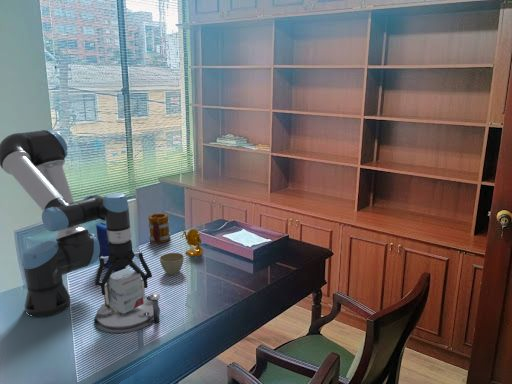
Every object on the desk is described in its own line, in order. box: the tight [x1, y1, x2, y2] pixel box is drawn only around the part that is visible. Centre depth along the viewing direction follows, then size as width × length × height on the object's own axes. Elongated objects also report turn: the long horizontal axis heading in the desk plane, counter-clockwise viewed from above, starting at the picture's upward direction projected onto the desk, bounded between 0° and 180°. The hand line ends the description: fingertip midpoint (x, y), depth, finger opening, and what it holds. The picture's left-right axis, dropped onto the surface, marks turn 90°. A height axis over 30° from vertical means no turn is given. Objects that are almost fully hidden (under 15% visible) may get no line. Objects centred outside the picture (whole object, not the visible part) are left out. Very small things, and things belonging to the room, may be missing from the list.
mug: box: [147, 212, 171, 245], centre depth 222 cm, size 11×16×15 cm, turn 4°
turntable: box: [96, 295, 154, 329], centre depth 153 cm, size 20×20×7 cm
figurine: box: [180, 228, 204, 257], centre depth 206 cm, size 9×11×12 cm
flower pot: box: [159, 252, 185, 276], centre depth 187 cm, size 10×10×7 cm
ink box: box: [106, 267, 144, 314], centre depth 151 cm, size 9×9×12 cm
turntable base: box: [93, 293, 161, 334], centre depth 153 cm, size 22×22×10 cm
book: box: [95, 221, 127, 272], centre depth 190 cm, size 14×5×20 cm, turn 53°
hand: (126, 299), depth 152 cm, fingers closed on ink box, 11 cm apart
